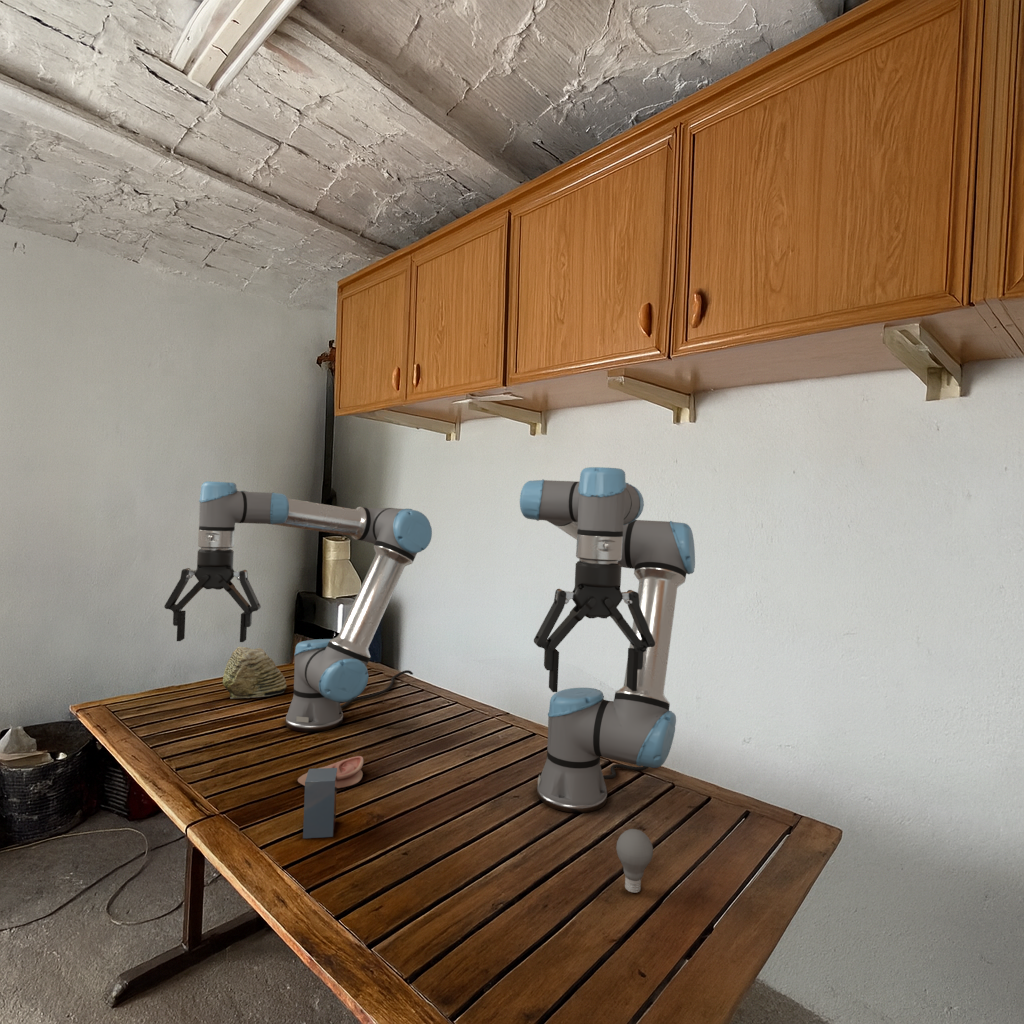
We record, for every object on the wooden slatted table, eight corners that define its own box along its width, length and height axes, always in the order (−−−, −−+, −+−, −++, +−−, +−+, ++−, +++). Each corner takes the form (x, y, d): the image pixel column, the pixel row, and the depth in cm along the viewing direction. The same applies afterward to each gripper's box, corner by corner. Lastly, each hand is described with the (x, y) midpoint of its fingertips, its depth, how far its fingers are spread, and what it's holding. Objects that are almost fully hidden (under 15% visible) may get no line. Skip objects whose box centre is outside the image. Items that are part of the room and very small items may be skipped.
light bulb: (610, 879, 108) (613, 822, 108) (644, 879, 109) (647, 822, 109) (619, 902, 102) (622, 840, 102) (655, 901, 103) (658, 840, 103)
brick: (306, 822, 123) (308, 768, 123) (335, 821, 124) (337, 767, 124) (302, 838, 117) (305, 781, 117) (332, 836, 118) (335, 780, 118)
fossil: (218, 695, 195) (220, 647, 195) (278, 685, 208) (279, 640, 207) (228, 703, 189) (230, 653, 188) (289, 692, 201) (290, 645, 201)
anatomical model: (290, 768, 137) (317, 748, 149) (290, 786, 138) (316, 764, 149) (347, 776, 135) (370, 755, 146) (346, 794, 135) (369, 772, 146)
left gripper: (151, 547, 140) (147, 643, 140) (268, 552, 144) (264, 644, 144) (164, 545, 148) (160, 636, 148) (276, 549, 151) (272, 637, 152)
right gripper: (529, 561, 98) (523, 697, 99) (679, 565, 103) (672, 694, 104) (520, 557, 106) (514, 683, 106) (659, 560, 110) (654, 681, 111)
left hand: (212, 640), depth 146 cm, fingers open, 13 cm apart
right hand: (592, 689), depth 105 cm, fingers open, 13 cm apart
